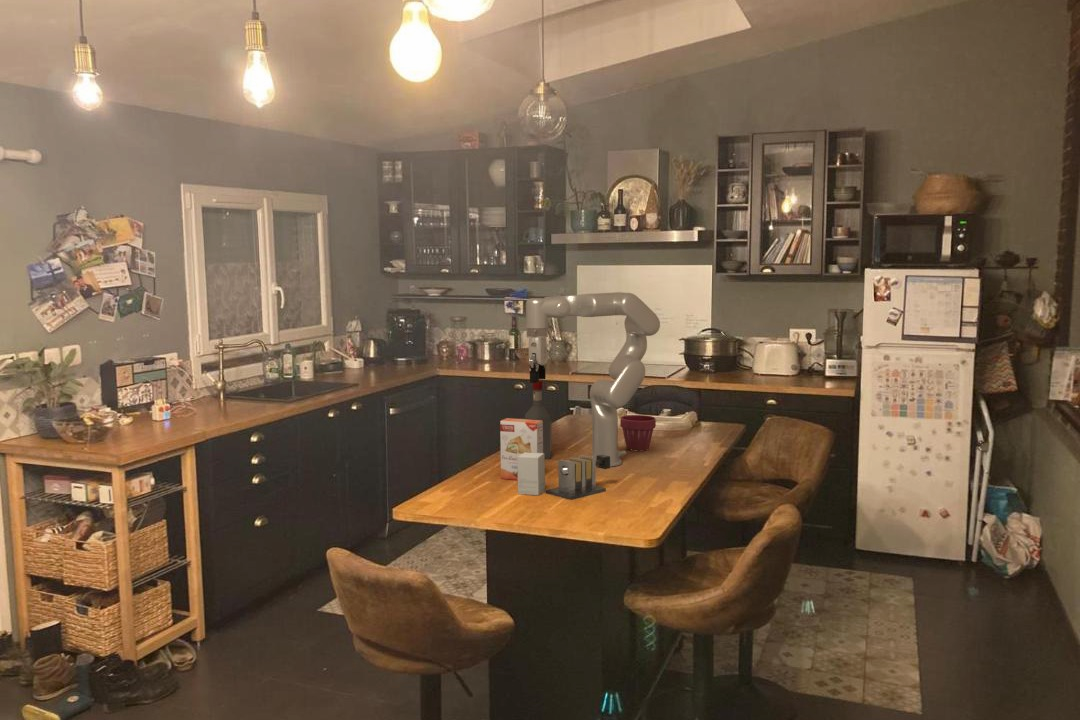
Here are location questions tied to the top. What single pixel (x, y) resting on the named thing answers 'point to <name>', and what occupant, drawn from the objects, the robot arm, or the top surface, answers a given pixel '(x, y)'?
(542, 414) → the liquor
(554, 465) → the top surface
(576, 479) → the spacer
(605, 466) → the shaft
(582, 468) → the frame
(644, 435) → the plant pot
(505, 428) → the cracker box
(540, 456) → the supplement box
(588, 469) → the spacer
